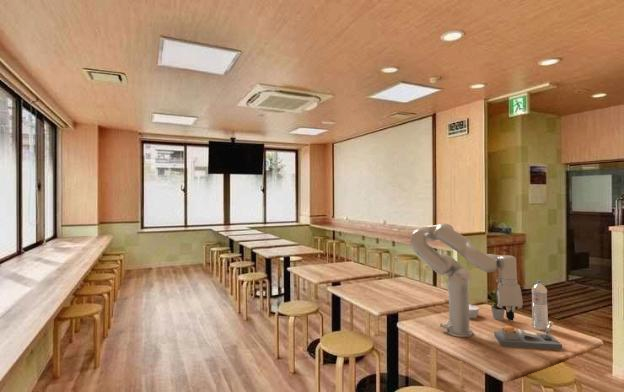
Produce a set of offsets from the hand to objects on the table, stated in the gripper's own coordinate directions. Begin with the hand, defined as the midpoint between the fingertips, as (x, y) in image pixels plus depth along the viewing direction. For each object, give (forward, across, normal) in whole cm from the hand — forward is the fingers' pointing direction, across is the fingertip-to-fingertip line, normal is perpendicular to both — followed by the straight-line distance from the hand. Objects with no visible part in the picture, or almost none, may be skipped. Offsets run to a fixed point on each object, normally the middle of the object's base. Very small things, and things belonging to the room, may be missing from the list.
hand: (510, 319), depth 168 cm
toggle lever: (+7, +15, 0) cm, 17 cm away
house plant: (+11, +3, +31) cm, 33 cm away
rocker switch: (+7, +7, 0) cm, 10 cm away
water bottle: (+11, +20, +20) cm, 31 cm away
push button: (+7, -1, 0) cm, 7 cm away
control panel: (+11, +7, 0) cm, 13 cm away
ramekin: (+10, -12, +35) cm, 39 cm away
